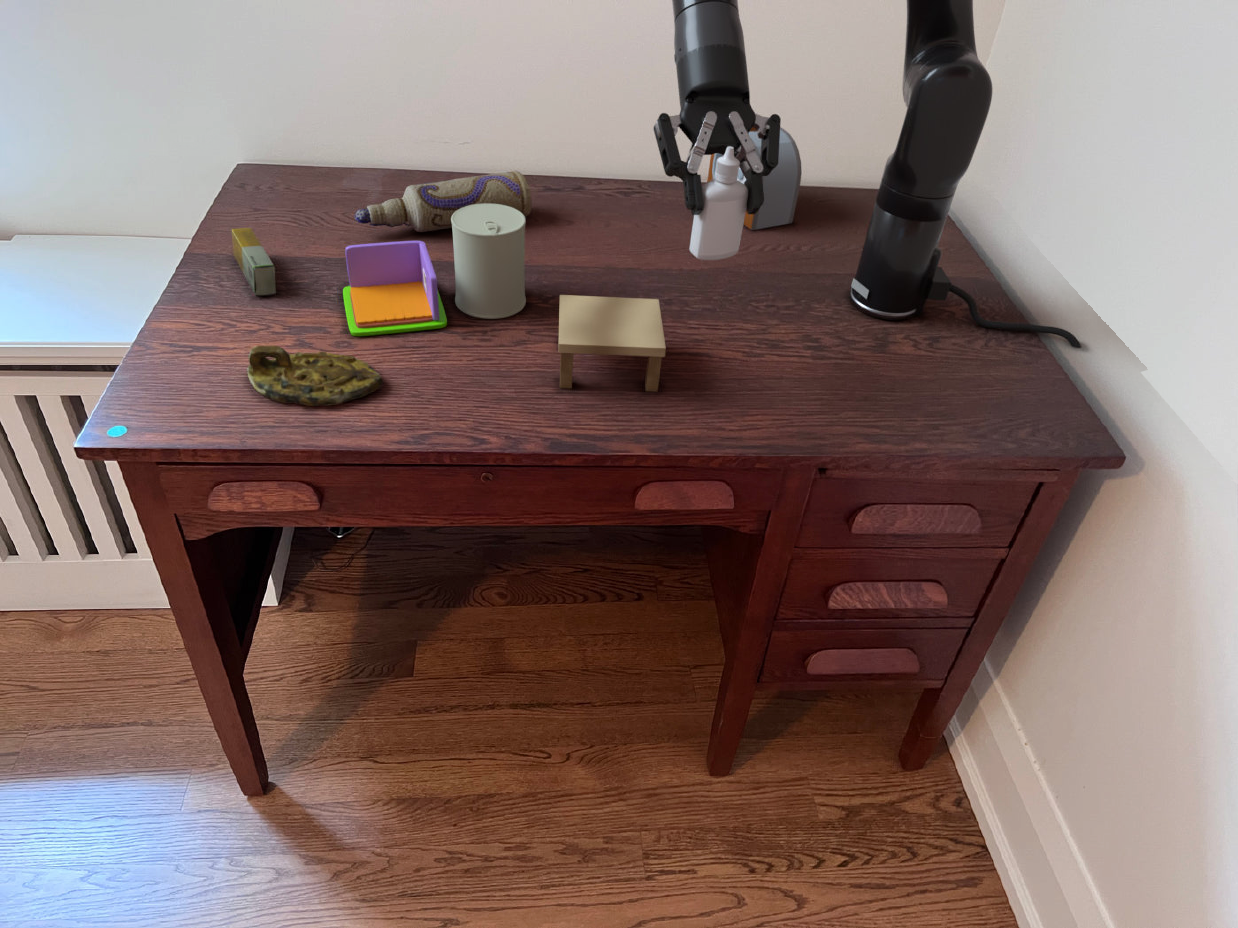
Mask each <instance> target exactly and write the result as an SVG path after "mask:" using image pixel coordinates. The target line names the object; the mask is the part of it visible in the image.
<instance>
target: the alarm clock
mask: <svg viewBox="0 0 1238 928" xmlns="http://www.w3.org/2000/svg"><path fill="white" fill-rule="evenodd" d="M755 115H757V116H761V115H760V114H758V113H755ZM748 134H749V136H750V138H751V140H752V141H753V143H754V145H755V152H756V154H757V156H758V158H759V159H760V157H761V139H760V138H758V135H757V130H756V129H755V128H754V127H752V128H751V130H750V132H749V133H748ZM740 148H741V146H740ZM722 156H724V155H723V154H719V153H715V154H712V155H710V159H709V167H708V174H707V182H709V181H711V180H713V179H715V178H714V175H715V168H716V162H717V159H718V158H719V157H722ZM802 173H803V172H802V160H801V155H800V151H799V148H798V145H797V143H796V141H795V140H794V138H793V137H792V135H791V134H790V133H789V132H788V131H787V130H785V128H783V127H782V126H780V142H779V160H778V165H777V166H776V167H775V168H774V169H773V170H772V171H771V173H770V174H769V175H768V176H762V182H763V191H764V202H763V205H762V206H761V207H760V209H759V210H758V211H757V212H756V213H755V214H748V213H747V207H746V213H745V218H744V224H743V226H745V227H746V228H748V229H749V230H750V231H755V230H761V229H766V228H771V227H772V228H773V227H778V226H782V225H788V224H792V223H793V220H794V216H795V211H796V207H797V201H798V197H799V192H800V188H801V183H802V181H801V180H802ZM737 180H738V181H740V182H741V183H743V184H744V182H745V181H746V178H745V176H744V175H743V173H742V171H741V169H740V167H739V170H738V176H737ZM707 182H706V183H707Z"/></svg>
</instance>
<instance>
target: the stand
mask: <svg viewBox="0 0 1238 928" xmlns="http://www.w3.org/2000/svg"><path fill="white" fill-rule="evenodd" d="M558 306H559V309H558V310H559V311H558V343H557V344H558V347H557V349H558V351H557V352H558V353H559V354H560V363H559V365H560V366H559V370H560V371H559V389H572V388H573V374H574V373H573V370H574V354H581V355H582V354H583V355H603V356H604V355H605V356H628V357H629V356H630V357H632V356H633V357H647V364H646V371H645V381H644V387H645V389H644V390H645V392H656V393H657V392H658V390H659V382H660V374H661V367H662V358H665V357H666V352H667V351H666V350H667V346H666V340H665V339H666V338H665V333H664V326H663V319H662V312H661V305H660V299H659V298H642V297H641V298H640V297H639V298H638V297H618V296H617V297H616V296H596V295H595V296H593V295H573V294H572V295H570V294H559V305H558Z"/></svg>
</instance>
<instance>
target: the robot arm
mask: <svg viewBox="0 0 1238 928" xmlns="http://www.w3.org/2000/svg"><path fill="white" fill-rule="evenodd" d="M671 2H672V3H671V4H672V12H673V14H672V15H673V23H674V36H673V47H674V54H673V55H674V56H673V59H674V64H675V67H676V68H675V69H676V78H677V87H678V96H679V97H678V98H679V99H678V100H679V106H680V112H679V113H678V114H675V115H669V114H668V113H666V112H662V113H660V114H659V116H658V118H657V120H656V122H655V123H654V125H653V132H654V136H655V140H656V144H657V147H658V152H659V155H660V159H661V162H662V166H663V167H662V168H663V170H664V174H665V175H666V176H667V177H670V178H671V177H676V178H679V179H680V180H681V182H682V183H683V194H684V203H685V207H686V209H687V210H688V211H690V213H691V215H692V216H694V215H699V214H700V213H701V212H702V211H703V207H704V205H703V195H702V186H703V184H702V175H701V174H698V171H699V170H700V166H701V163H702V160H703V157H704V156H711V155H712V154H715V153H719V154H723V155H724V154H725V152H726V149H727V147H728V146H731V147H733V148H734V157H735V158H736V159H738V160H739V162H740V164H739V167H740V169H741V171H742V173H743V175H744V176H745V178H746V181H745V182H744V185H745V186H746V187H747V189H748V200H747V213H748V214H755V213H756V212H757V211H758V210H759V209H760V207H761V206H762V205H763V202H764V191H763V182H762V176H768V175H769V174H770V173H771V171H772V170H773V169H774V168H775V167H776V166H777V165H778V160H779V142H780V127H781V122H782V121H781V117H780V115H778V114H777V113H773V114H771V115H770V117H767V116H762V115H760V116H757V115H755V114H756V112H755V110H754V109H753V107H752V106H751V95H750V94H751V93H750V82H749V74H748V65H747V64H748V63H747V55H746V54H747V53H746V47H745V46H746V45H745V36H744V30H743V26H742V22H741V19H740V12H739V11H740V9H739V2H738V0H671ZM905 28H906V29H905V45H904V46H905V48H904V59H903V61H904V62H903V71H902V83H901V84H902V85H901V87H902V89H901V90H902V98H903V103H904V105H905V107H906V112H905V116H904V119H903V123H902V125H901V130H900V133H899V137H898V140H897V143H896V147H895V149H894V151H893V153H891V154H890V155H889V156H888V157H887V159H886V162H885V164H884V168H883V173H882V177H881V180H880V183H879V188H878V191H877V193H876V198H875V203H874V206H873V209H872V213H871V217H870V221H869V224H868V227H867V232H866V235H865V240H864V242H863V246H862V251H861V254H860V257H859V262H858V265H857V269H856V273H855V276H854V277H853V278H852V281H851V284H850V287H851V288H850V291H849V297H848V299H849V301H850V303H851V304H852V306H853V307H854V308H856V309H857V310H858V311H860V312H861V313H863V314H865V315H868V316H870V317H873V318H876V319H881V320H887V321H902V320H907V319H910V318H913V317H914V316H917V317H918V316H919V317H921V316H922V315H923V311H924V308H925V306H926V302H927V300H928V301H929V300H930V301H946V300H947V297H948V295H949V292H950V293H952V294H954V295H956V296H958V297H959V298H960V299H962V300H963V301H964V302H965V303H966V304H967V306H968V309H969V313H970V317H971V319H972V321H973V322H974V323H976V324H977V325H979V326H980V327H983V328H987V329H998V330H1005V331H1006V330H1007V331H1023V332H1024V331H1025V332H1031V333H1039V334H1047V335H1049V334H1050V335H1055V336H1059V337H1061V338H1064V339H1065V340H1066V341H1067V342H1068V343H1069V344H1070V346H1072V347H1073V348H1076V349H1081V348H1082V346H1081V343H1080V341H1079V340H1078V338H1077V337H1076V336H1075V335H1074V334H1073V333H1071V332H1070V331H1068V330H1066V329H1064V328H1060V327H1055V326H1049V325H1048V326H1047V325H1038V324H1031V323H1022V322H1008V321H1007V322H1005V321H995V320H988V319H985V318H983V317H982V316H981V315H980V314H979V310H978V305H977V302H976V301H975V299H974V298H973V297H972V295H970V294H969V293H968V292H967V291H965V290H964V289H962V288H961V287H958V286H956V285H954V284H952V280H950V278H949V277H948V275H947V273H946V272H945V271H944V269H943V268H942V266H939V263H940V260H941V257H942V250H941V248H940V247H939V243H940V240H941V237H942V234H943V230H944V228H945V225H946V223H947V219H948V215H949V212H950V209H951V206H952V203H953V200H954V197H955V194H956V192H957V189H958V186H959V183H960V181H961V179H962V178H963V177H964V176H965V174H966V173H967V171H968V170H969V167H970V165H971V163H972V160H973V157H974V154H975V152H976V149H977V146H978V143H979V140H980V138H981V135H982V133H983V130H984V128H985V124H986V121H987V118H988V115H989V111H990V108H991V104H992V101H993V100H992V99H993V89H994V88H993V82H992V78H991V76H990V74H989V72H988V69H986V67H985V66H984V64H983V63H982V62H981V61H980V59H979V56H978V52H977V51H978V50H977V45H976V37H975V19H974V0H906V27H905ZM752 127H754V128H755V129H756V130H757V135H758V138H760V139H761V157H760V159H759V158H758V156H757V154H756V152H755V145H754V143H753V141H752V140H751V138H750V136H749V134H748V133H749V132H750V130H751V128H752ZM679 129H680V130H681V132H682V133H683V134H684V135H685V137H686V138H687V139H688V140H689V141H690V143H691V145H690V148H689V151H688V153H687V156H686V159H685V161H684V160H682V158H681V155H680V150H679V146H678V143H677V139H676V135H678V131H679ZM740 146H741V148H740Z"/></svg>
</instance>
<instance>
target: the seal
mask: <svg viewBox="0 0 1238 928" xmlns="http://www.w3.org/2000/svg"><path fill="white" fill-rule="evenodd" d="M270 358H272V359H270ZM248 364H249V365H247V369H246V370H247V371H246V372H247V373H246V374H247V377H248V380H249V383H250V385H251V386H252V387H253V389H254V390H255V391H256V392H257V393H259V394H260V395H261V396H263V397H265V398H266V399H269V400H271V401H273V402H279V403H282V404H300V405H305V406H308V407H315V406H328V407H329V406H337V405H341V404H343V403H347V402H348V401H349V402H350V401H353V400H356V399H359V398H362V397H366V396H367V395H369V394H371V393H375V392H376V391H377V390H379V389H380V388H381V387H382V386H383V384H384V379H383V377H382V375H381V374H380V373H379V372H378V371H376V369H374V368H373V366H371V365H369V364H368V363H367V362H365V361H363V360H361V359H360V358H357V357H355V356H353V355H349V354H348V355H346V354H338V353H332V352H326V351H319V352H300V351H298V352H296V353H291V354H289V353H288V352H287V350H285V349H284V348H283V347H281V346H278V345H256V346H253V347H252V348H250V351H249V354H248Z"/></svg>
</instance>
